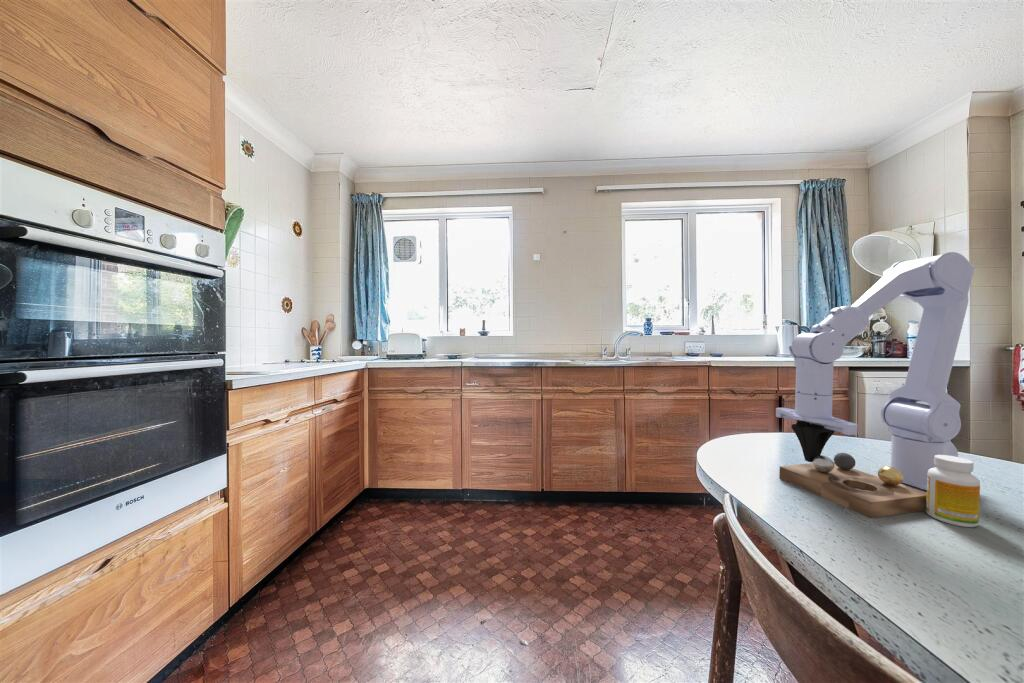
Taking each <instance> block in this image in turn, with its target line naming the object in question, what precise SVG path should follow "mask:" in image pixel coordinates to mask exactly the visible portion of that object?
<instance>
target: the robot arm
mask: <svg viewBox="0 0 1024 683" xmlns="http://www.w3.org/2000/svg"><path fill="white" fill-rule="evenodd" d="M974 271H975V267H974V265H972V263H971V262H970V261H969V260H968V259H967V258H966V257H965V256H964V255H963V254H961V253H959V252H954V251H950V252H949V251H948V252H945V253H944V252H943V253H942V254H936V255H932V256H926V257H920V258H916V259H915V258H914V259H911V260H910V259H908V260H905V259H904V260H900V261H897V262H895V263H893V264H892V265H891V266H890V267H889V268H887V269H886V270H884V271H883V272H882V277H880V279H879V280H878V281H877V282H875V283H874V284H873V285H872V286H871V287H870V288H869V289H868V290H867V291H866V292H864V293H863V294H862V295H861V296H860V297H859V298H858V299H857V300H855V302H854V303H853V304H851V305H842V306H839V307H834V308H832V309H831V310H830V311H829V315H828V316H827V317H825V318H824V319H823V320H821V321H820V322H819V323H818V324H814V325H813V326H811V328H810V330H809V332H804V333H803V332H802V333H800V334H798V335H796V337H794V339H793V340H792V341H791V342H792V343H791V345H789V346H788V350H789V354H790V356H792V358H793V360H794V366H795V391H794V392H795V396H794V397H795V398H794V399H795V400H794V402H795V403H794V404H795V405H794V409H792V408H789V407H788V408H787V407H776V408H775V417H776V418H781V419H782V418H784V419H787V420H791V421H796V422H795V423H794V424H791V429H792V430H793V432H794V434H795V436H796V437H797V440H798V441H799V444H800V447H801V450H802V454H803V457H804V461H806V462H809V463H813V459H814V458H815V457H816V456H820V455H821V454H822V452H823V450H824V447H825V446H826V444H827V443H828V441H829V440H830V438H831V437H832V436H833V435H834V434H835V432H839V433H842V434H843V435H847V436H854V435H855V436H857V435H858V427H859V426H858V423H854V422H851V421H847V420H844V419H841V418H837V417H834V416H833V397H834V396H833V395H834V394H833V392H834V390H833V389H834V388H833V387H834V362H835V361H837V360H840V358H841V357H842V355H843V353H844V348H845V347H846V346H847V344H848V343H850V341H852V339H854V338H855V337H856V336H858V335H859V334H860V333H861V332H863V331H864V330H865V329H867V328H868V327H869V324H870V317H871V316H873V315H874V314H875V313H877V312H878V311H879V310H881V309H882V308H884V307H886V305H888V304H889V303H892V302H893V300H895V299H897V298H898V297H900V296H901V295H903V296H904V297H906V298H908V299H909V300H911V301H912V302H913V303H918V305H919V306H920V307H921V308H922V309H923V310H922V314H921V317H920V322H919V326H918V330H917V334H916V338H915V343H914V347H913V350H912V353H911V358H910V362H909V366H908V371H907V375H906V377H905V383H904V384H903V385H901V386H900V387H897V388H895V389H894V390H892V391H891V392H889V397H888V399H887V401H886V402H885V403H884V404H883V406H882V407H881V409H880V410H881V411H880V418H881V422H883V424H884V425H885V426H886V427H888V432H890V433H891V444H890V445H891V447H890V448H891V450H890V467H894V468H896V469H898V470H899V471H900V472H901V473H902V475H903V482H902V483H901V484H905V485H909V486H910V487H911V486H912V487H914V488H918V489H921V490H922V491H923V490H924V491H927V473H928V470H929V469H931V468H935V467H936V465H935V464H934V456H935V455H948V456H955V457H959V452H958V448H956V446H955V445H954V443H953V442H951V440H952V439H954V438H956V437H957V436H958V434H959V433H960V431H961V428H962V422H961V421H962V420H961V417H960V410H961V407H962V406H961V404H960V402H958V401H957V400H956V399H955V398H953V397H952V396H951V395H950V394H949V393H947V389H948V384H949V380H950V375H951V373H952V369H953V364H954V360H955V356H956V352H957V349H958V345H959V341H960V337H961V332H962V329H963V325H964V321H965V317H966V313H967V309H968V306H969V291H970V289H971V285H972V284H971V283H972V281H973V280H972V279H973V275H974V273H975V272H974ZM919 402H923V403H919ZM924 403H927V404H924Z"/></svg>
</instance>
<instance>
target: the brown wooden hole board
mask: <svg viewBox="0 0 1024 683" xmlns="http://www.w3.org/2000/svg"><path fill="white" fill-rule="evenodd" d="M833 463H834V461H833ZM778 475H779V477H778V478H779V479H780V480H781V481H784V482H786V483H789V484H791V485H794V486H796V487H798V488H801V489H803V490H805V491H808V492H810V493H812V494H814V495H817V496H819V497H821V498H824V499H826V500H828V501H830V502H832V503H836V504H837V505H840V506H842V507H845V508H847V509H848V510H849V509H850V510H852V511H854V512H856V513H857V514H861V515H863V516H865V517H868V518H871V519H873V518H879V517H881V518H882V517H887V516H895V515H899V514H901V515H902V514H909V513H914V512H915V513H916V512H923V511H926V498H927V492H925V491H923V490H922V491H921V490H919V489H916V488H912V487H911V486H906V485H904V484H902V483H901V484H899V485H894V486H893V485H888V484H885V483H884V482H882V481H881V480H880V479H879V477H878V475H873V474H870V473H867V472H865V471H861V470H858V469H854V468H852V469H849V470H844V469H841V468H839V467H838V466H837V465H836V464H835V463H834V469H833V470H832V471H831V472H828V473H823V472H820V471H818V470H816V469H815V468H814V466H813V462H809V463H802V464H801V463H800V464H791V465H790V464H789V465H780V466H779V474H778Z"/></svg>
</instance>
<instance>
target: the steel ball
mask: <svg viewBox="0 0 1024 683" xmlns="http://www.w3.org/2000/svg"><path fill="white" fill-rule="evenodd" d="M833 462H834V460H833V459H831V457H828V455H827V456H826V455H820V456H816V457H815V458H814V459H813V462H812V463H813V466H814V468H815V469H816V470H818V471H820V472H823V473H828V472H831V471H832V470H833V469H834V463H833Z"/></svg>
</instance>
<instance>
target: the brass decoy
mask: <svg viewBox="0 0 1024 683" xmlns="http://www.w3.org/2000/svg"><path fill="white" fill-rule="evenodd" d="M877 477H879V479H880V480H881V481H882V482H884V483H885V484H888V485H893V486H894V485H899V484H901V485H902V484H903V483H902V482H903V475H902V473H901V472H900V471H899V470H898V469H896V468H894V467H891V465H889V466H887V465H886V466H882V467H880V468H879V469H878V470H877Z"/></svg>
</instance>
